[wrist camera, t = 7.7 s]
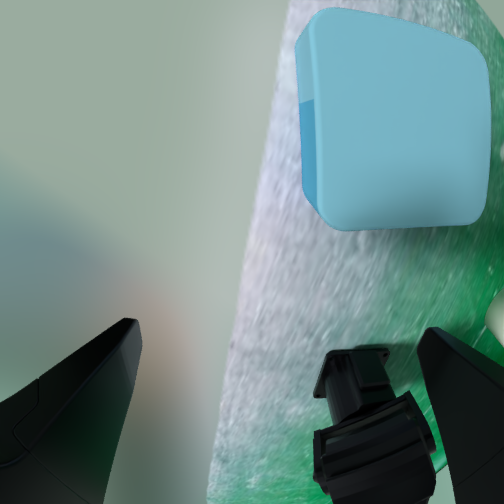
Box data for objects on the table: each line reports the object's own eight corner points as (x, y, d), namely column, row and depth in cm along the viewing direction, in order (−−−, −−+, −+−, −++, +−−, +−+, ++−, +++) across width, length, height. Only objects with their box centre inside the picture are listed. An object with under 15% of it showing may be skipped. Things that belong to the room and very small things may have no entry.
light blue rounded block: (448, 54, 14) (291, 28, 14) (486, 48, 10) (305, 2, 10) (447, 205, 19) (302, 209, 19) (483, 225, 15) (317, 234, 15)
